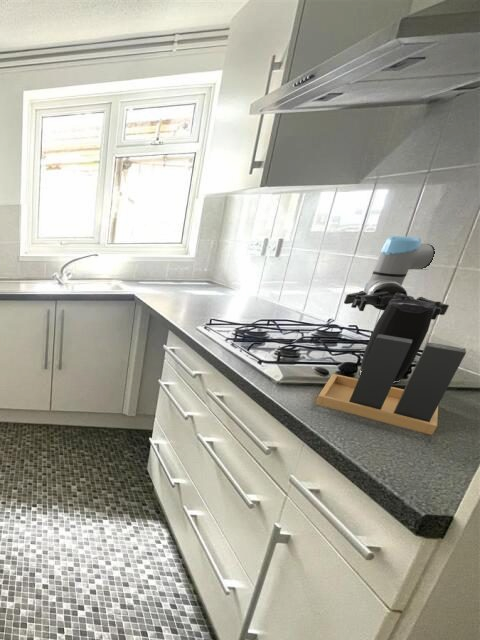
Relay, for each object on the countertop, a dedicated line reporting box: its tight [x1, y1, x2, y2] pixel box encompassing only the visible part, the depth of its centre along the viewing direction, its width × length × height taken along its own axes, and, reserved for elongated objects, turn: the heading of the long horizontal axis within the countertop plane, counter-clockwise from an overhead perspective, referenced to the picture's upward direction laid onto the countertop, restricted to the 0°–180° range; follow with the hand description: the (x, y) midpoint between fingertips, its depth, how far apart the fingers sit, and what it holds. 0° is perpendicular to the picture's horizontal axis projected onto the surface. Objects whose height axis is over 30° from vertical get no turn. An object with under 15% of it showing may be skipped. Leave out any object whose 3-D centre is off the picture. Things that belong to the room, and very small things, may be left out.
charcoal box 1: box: [349, 334, 412, 410], centre depth 85 cm, size 5×3×16 cm, turn 43°
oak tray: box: [315, 373, 439, 436], centre depth 90 cm, size 18×18×3 cm
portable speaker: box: [358, 299, 435, 385], centre depth 102 cm, size 9×9×20 cm
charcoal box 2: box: [393, 341, 467, 422], centre depth 80 cm, size 5×3×16 cm, turn 43°
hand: (398, 310), depth 107 cm, fingers open, 13 cm apart
